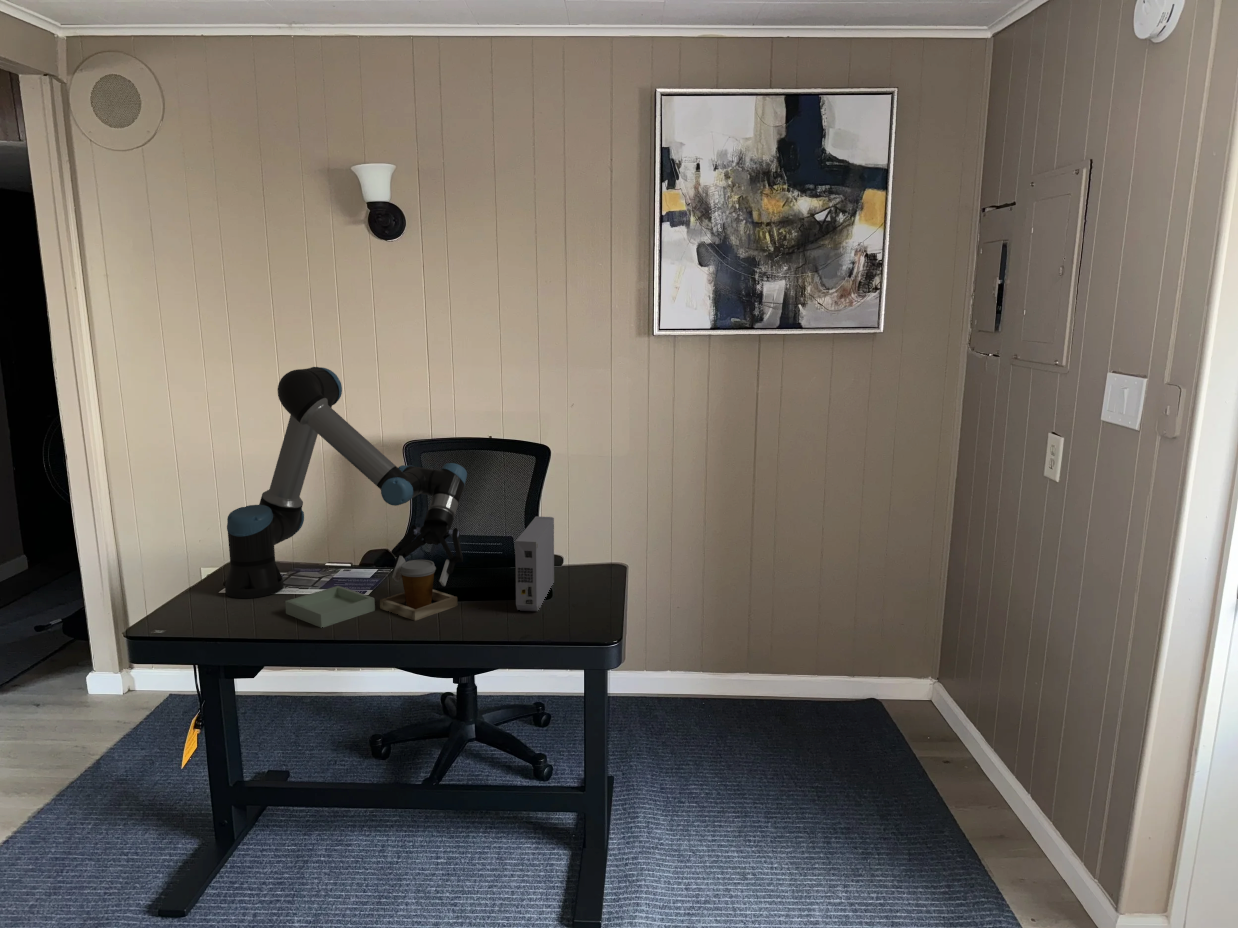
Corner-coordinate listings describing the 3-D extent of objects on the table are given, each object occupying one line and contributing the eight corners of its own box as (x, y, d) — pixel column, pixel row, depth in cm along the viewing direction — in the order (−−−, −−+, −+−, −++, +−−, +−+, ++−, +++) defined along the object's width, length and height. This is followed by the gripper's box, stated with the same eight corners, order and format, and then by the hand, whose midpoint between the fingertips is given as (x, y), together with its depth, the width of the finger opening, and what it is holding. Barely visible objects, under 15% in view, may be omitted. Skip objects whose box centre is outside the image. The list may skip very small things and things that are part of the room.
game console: (555, 582, 246) (555, 516, 243) (537, 614, 219) (537, 541, 216) (536, 581, 247) (535, 516, 243) (516, 613, 220) (515, 541, 216)
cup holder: (380, 608, 222) (379, 599, 222) (422, 594, 234) (422, 586, 233) (415, 620, 214) (414, 611, 213) (457, 605, 225) (457, 596, 225)
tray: (286, 613, 218) (285, 600, 217) (339, 597, 230) (338, 585, 230) (321, 627, 208) (320, 614, 208) (374, 610, 221) (374, 597, 220)
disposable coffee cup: (420, 598, 230) (419, 557, 228) (444, 606, 225) (443, 563, 223) (393, 608, 223) (391, 565, 221) (417, 616, 217) (415, 571, 215)
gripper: (486, 523, 233) (466, 591, 221) (405, 518, 239) (381, 584, 227) (479, 509, 227) (457, 578, 215) (395, 504, 233) (370, 571, 221)
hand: (418, 581), depth 221 cm, fingers open, 13 cm apart
